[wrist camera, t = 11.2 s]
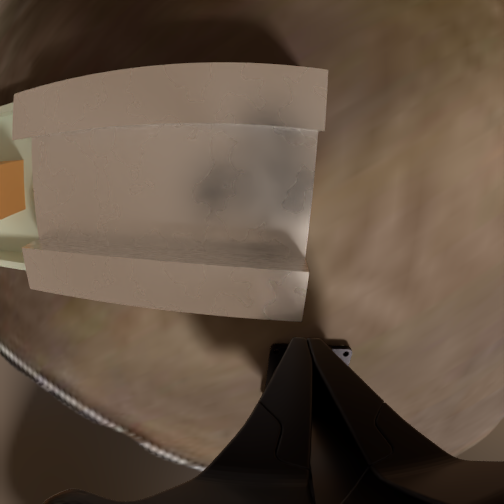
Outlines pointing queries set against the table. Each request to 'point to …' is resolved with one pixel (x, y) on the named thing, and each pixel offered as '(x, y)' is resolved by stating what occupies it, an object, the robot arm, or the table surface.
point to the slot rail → (176, 186)
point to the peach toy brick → (11, 187)
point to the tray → (24, 222)
